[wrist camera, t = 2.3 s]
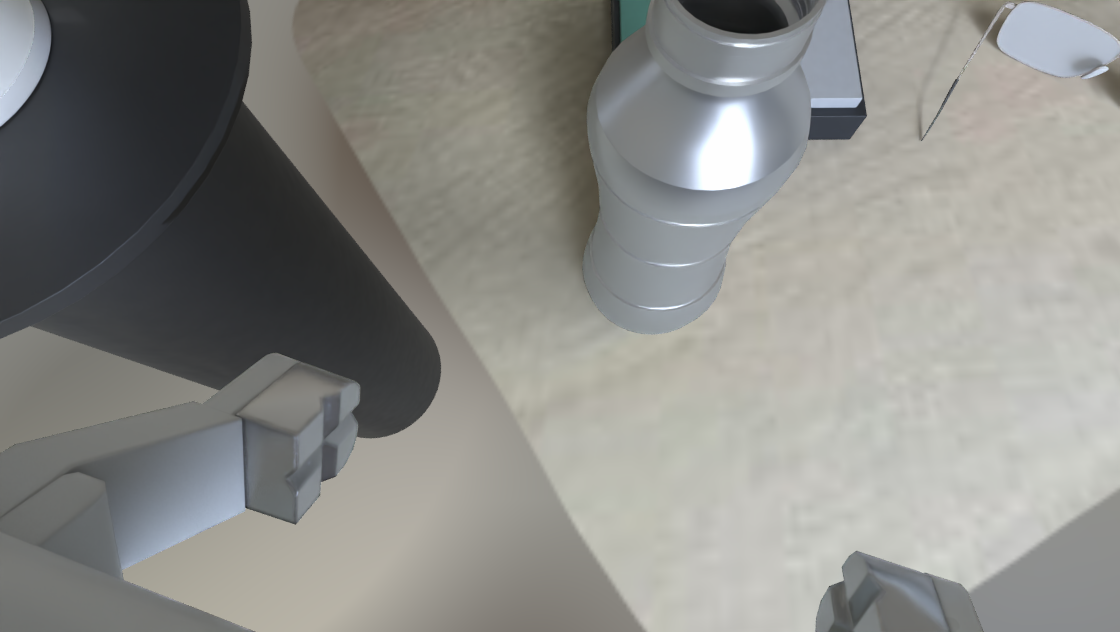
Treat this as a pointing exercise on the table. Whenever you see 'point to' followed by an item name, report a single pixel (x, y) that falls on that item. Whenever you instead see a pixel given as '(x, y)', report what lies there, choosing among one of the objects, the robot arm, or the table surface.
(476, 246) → the table surface
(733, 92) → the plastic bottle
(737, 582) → the table surface
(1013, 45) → the eyeglasses
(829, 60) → the scale
